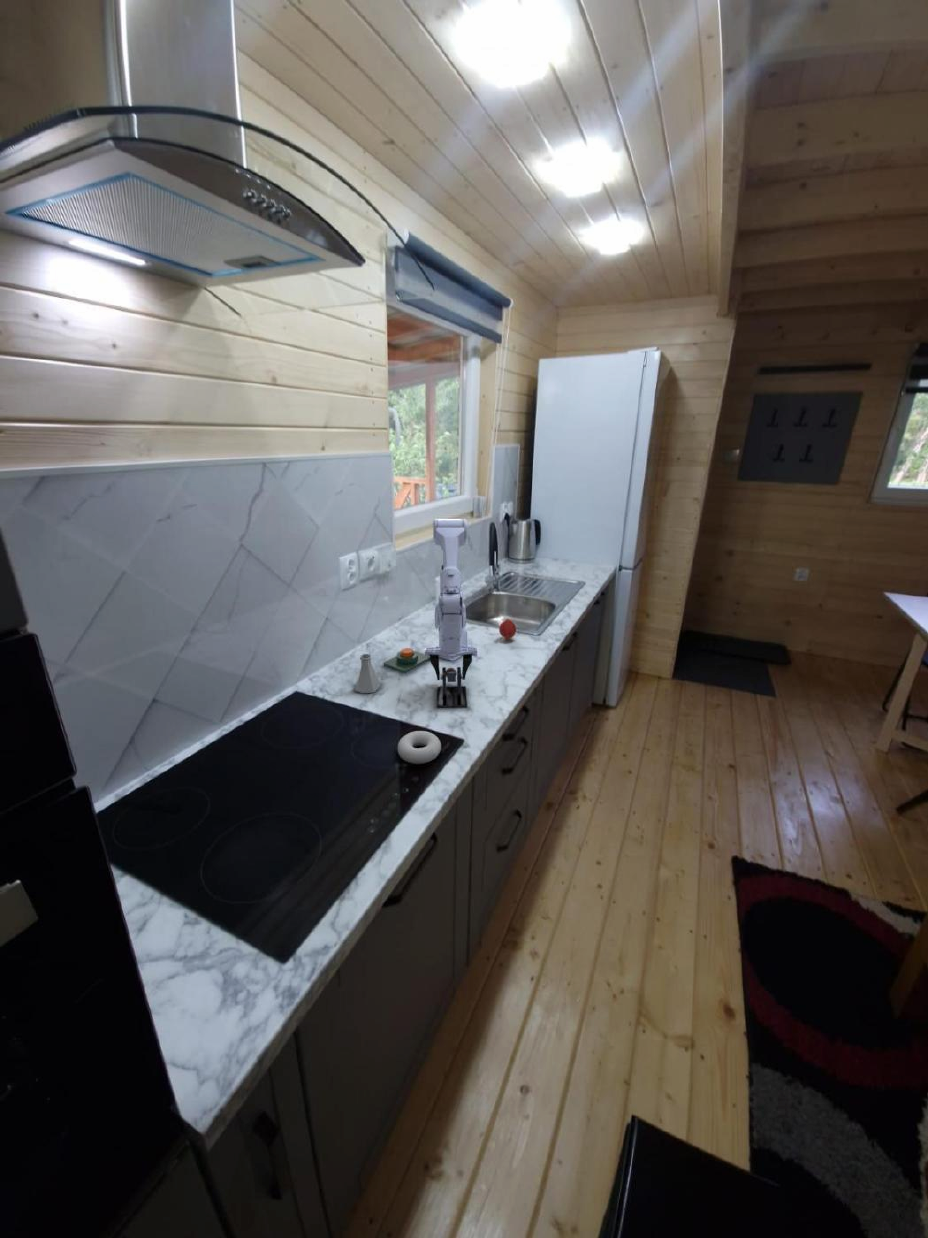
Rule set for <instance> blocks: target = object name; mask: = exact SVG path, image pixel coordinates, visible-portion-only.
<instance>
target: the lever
mask: <svg viewBox="0 0 928 1238" xmlns="http://www.w3.org/2000/svg"><path fill="white" fill-rule="evenodd" d="M446 680H447V683H457V669H456V668H453V667H448V668H446Z"/></svg>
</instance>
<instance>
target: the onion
mask: <svg viewBox="0 0 928 1238" xmlns="http://www.w3.org/2000/svg"><path fill="white" fill-rule="evenodd" d="M498 629H499V634H500V636H501V637H503V638H504V639H505V640H507V641H509V640H510V639H512V638H513V637H514V636H515V635H516V633H517V627H516V625H515V623H514V622H513V621H512V620H510V618H506V619H505V620H503V622H501V624H500V625H499V628H498Z"/></svg>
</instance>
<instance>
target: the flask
mask: <svg viewBox="0 0 928 1238" xmlns="http://www.w3.org/2000/svg"><path fill="white" fill-rule="evenodd" d="M371 659H372V654H370V653H362V654H360V655H359V660H360V664H361V665H360V671H359V674H358V678H357V681H356V683H355V688H354V689H355V690H354V691H355V692H358V693H360V694H371V693H375V692H377V691H378V690H380V689H381V681H380V680H379V677H378V676H377V674H376V672H375V670H374V667H373V665H372V660H371Z"/></svg>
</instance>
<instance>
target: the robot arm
mask: <svg viewBox="0 0 928 1238" xmlns="http://www.w3.org/2000/svg"><path fill="white" fill-rule="evenodd" d="M432 524H433V525H432V534H433V543H434V545H435V546H437V547H440V548H441V551H442V556H443V557H442V563H443V565H442V566H443V567H442V570H441V571H440V574H439V586H440V587H439V588H440V589H439V590H440V593H439V595H438V602H436V604H435V606H434V628H435V629H436V630H438V646H433V647H432V646H431V647H425V648H424V655H425V657H429V656H430V661H429V662H430V664H431V666H432V667H433V669H434V672H435V675H436V679H437V681H440V674H441V672H440V671H441V670H440V658H441V659H445V660H447V661H450V662H454V661H456V660H457V659H459V658H461V657H462V668H461V674H463V679H461V681H465V680H466V676H467V673H468V670H469V668H470V666H471V664H472V662H473V657H474V658H475V657H478V648H477V647H473V646H472V647H471V646H468V630H467V629H466V627H467V613H466V612H467V611H466V605H465V603H464V595H463V589H462V572H461V571H460V570H459V569H458V552H459V548H460V547H462V546H465V545H466V542H467V538H468V521H467V519H466V518H434V519H433V520H432Z"/></svg>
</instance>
